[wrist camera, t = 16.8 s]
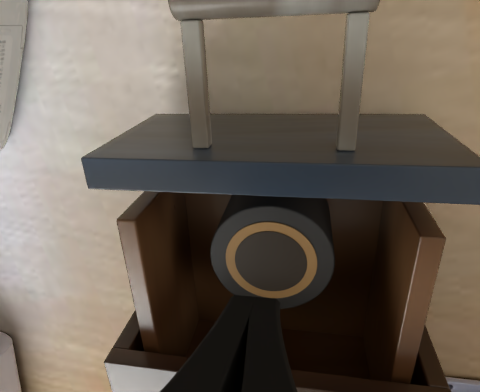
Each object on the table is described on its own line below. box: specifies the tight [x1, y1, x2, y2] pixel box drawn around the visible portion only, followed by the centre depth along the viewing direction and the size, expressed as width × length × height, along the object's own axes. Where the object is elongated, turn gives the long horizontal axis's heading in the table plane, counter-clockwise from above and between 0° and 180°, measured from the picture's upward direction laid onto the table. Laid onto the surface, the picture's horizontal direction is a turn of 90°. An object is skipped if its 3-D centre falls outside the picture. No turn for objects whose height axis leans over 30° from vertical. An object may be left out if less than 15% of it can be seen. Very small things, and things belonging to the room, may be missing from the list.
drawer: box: [81, 0, 480, 384], centre depth 16 cm, size 19×13×7 cm
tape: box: [210, 195, 335, 309], centre depth 17 cm, size 5×5×4 cm
